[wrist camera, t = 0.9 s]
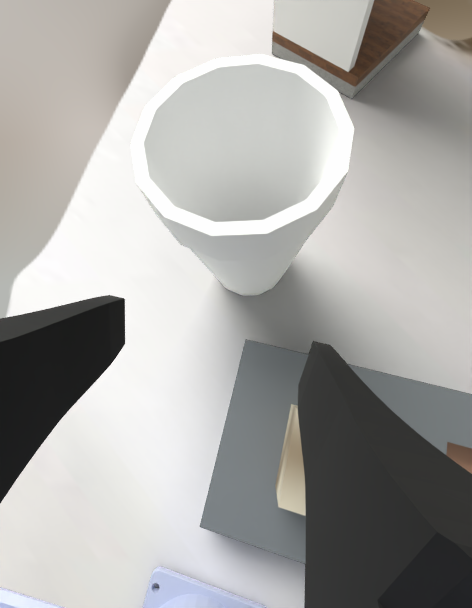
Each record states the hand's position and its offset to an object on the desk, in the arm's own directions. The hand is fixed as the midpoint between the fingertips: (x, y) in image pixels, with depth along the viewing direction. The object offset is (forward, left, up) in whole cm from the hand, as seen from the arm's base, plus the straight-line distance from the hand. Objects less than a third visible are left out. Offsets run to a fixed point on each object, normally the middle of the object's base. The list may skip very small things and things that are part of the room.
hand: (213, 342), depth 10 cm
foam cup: (+9, +1, -12) cm, 15 cm away
